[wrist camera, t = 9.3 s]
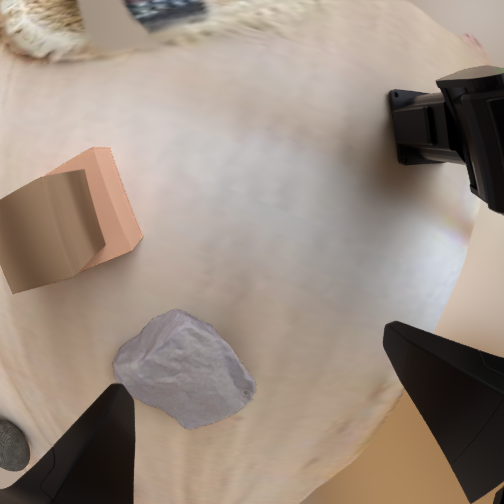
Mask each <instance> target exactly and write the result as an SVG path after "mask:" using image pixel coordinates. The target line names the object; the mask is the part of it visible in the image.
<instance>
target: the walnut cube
mask: <svg viewBox="0 0 504 504" xmlns="http://www.w3.org/2000/svg"><path fill="white" fill-rule="evenodd" d="M105 245H106V243H105V240H104V237H103V234H102V231H101V228H100V225H99V221H98V218H97V215H96V211H95V208H94V204H93V201H92V197H91V193H90V190H89V186H88V182H87V178H86V173H85V169H81V170H75V171H69V172H64V173H58V174H53V175H48V176H43V177H40V178H38V179H36V180H34V181H32V182H30V183H29V184H27V185H25V186H23V187H21V188H19V189H18V190H16V191H14V192H12V193H11V194H9V195H7V196H6V197H4V198H2V199H1V200H0V265H1V267H2V270H3V273H4V275H5V277H6V280H7V282H8V285H9V287H10V289H11V291H12V294H15V293H19V292H22V291H26V290H29V289H33V288H37V287H40V286H44V285H47V284H51V283H55V282H58V281H62V280H66V279H69V278H73V277H74V276H75V275H76V274H77V273H78V272H79V271H80V270H81V269H82V268H83V267H84V266H85V265H86V264H87V263H88V262H89V261H90V260H91V259H92V258H93V257H94V256H95V255H96V254H97V253H98V252H99V251H100V250H101V249H102V248H103V247H104V246H105Z"/></svg>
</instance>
